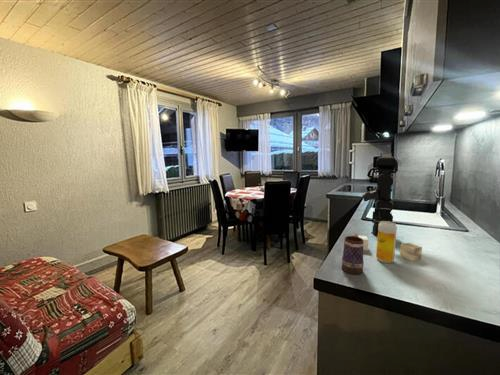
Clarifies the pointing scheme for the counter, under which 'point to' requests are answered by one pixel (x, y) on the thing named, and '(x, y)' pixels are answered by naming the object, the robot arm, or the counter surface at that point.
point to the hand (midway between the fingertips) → (381, 220)
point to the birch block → (410, 251)
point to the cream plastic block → (364, 242)
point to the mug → (353, 255)
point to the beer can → (386, 241)
